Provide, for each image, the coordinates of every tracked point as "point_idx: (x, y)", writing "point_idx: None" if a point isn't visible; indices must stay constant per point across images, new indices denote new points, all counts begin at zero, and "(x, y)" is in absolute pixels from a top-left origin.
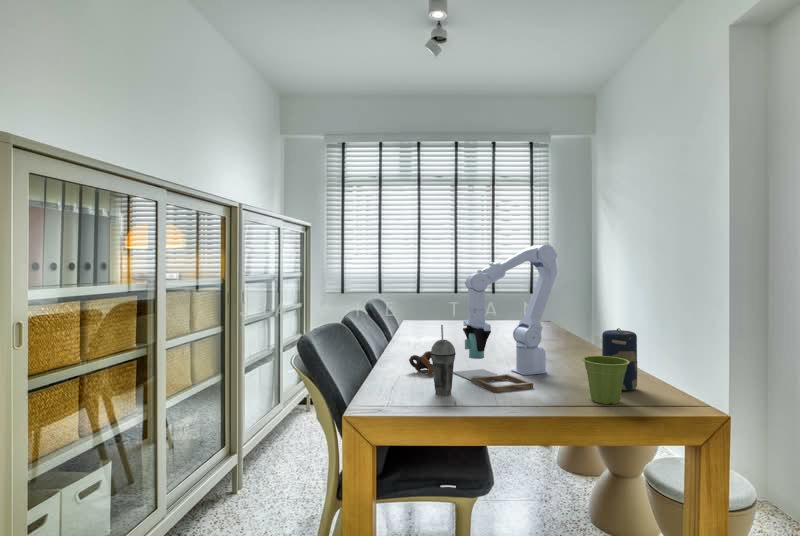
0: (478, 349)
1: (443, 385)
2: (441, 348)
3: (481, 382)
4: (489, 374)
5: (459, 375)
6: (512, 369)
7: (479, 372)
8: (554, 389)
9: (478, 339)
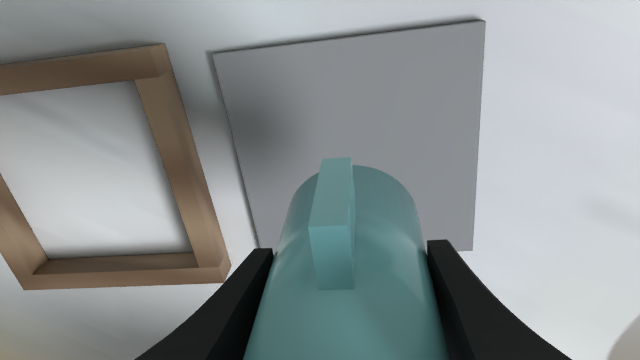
0: (246, 259)
1: None
2: None
3: (32, 63)
4: None
5: (364, 35)
6: None
7: None
8: (26, 325)
9: (166, 338)
